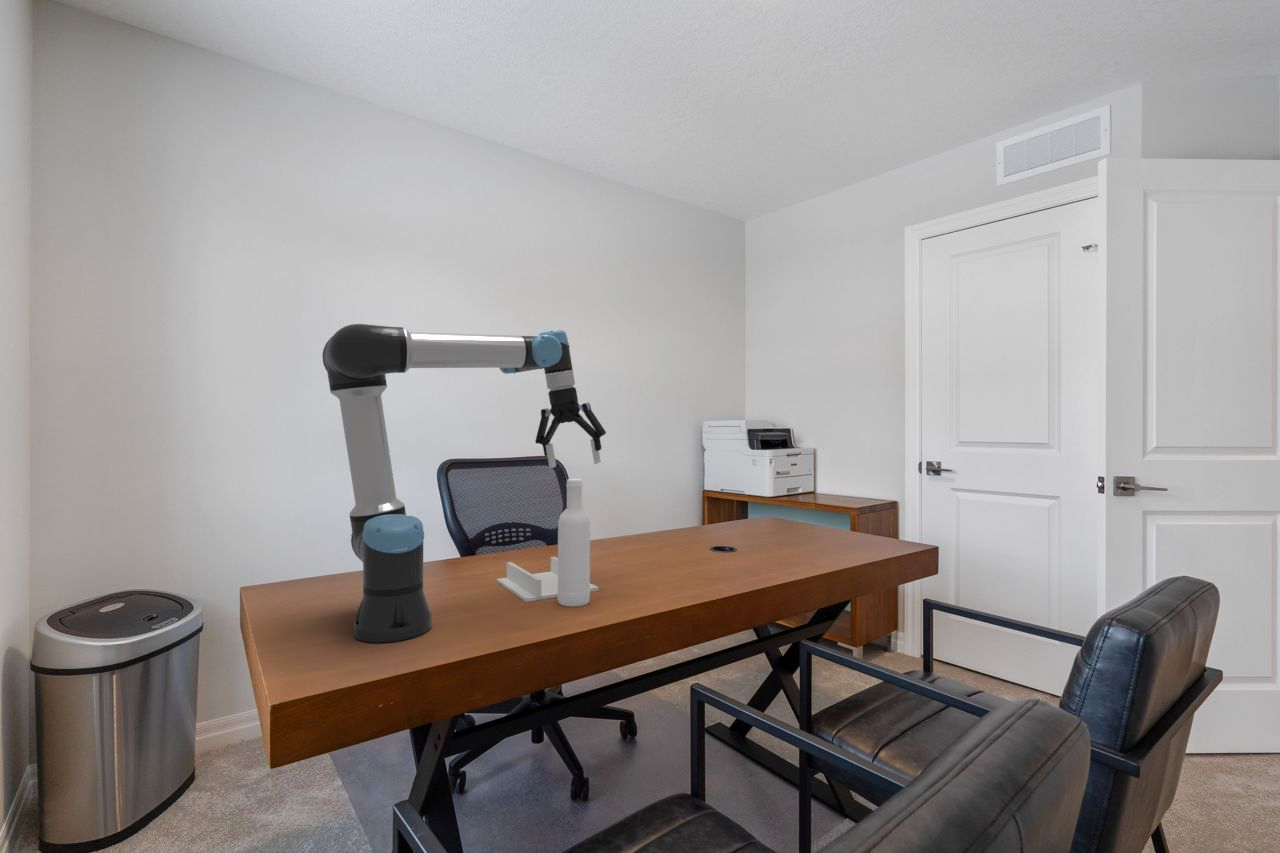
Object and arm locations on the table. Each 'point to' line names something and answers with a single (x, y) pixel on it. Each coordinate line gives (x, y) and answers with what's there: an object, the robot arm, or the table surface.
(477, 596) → the table surface
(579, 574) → the bottle
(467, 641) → the table surface
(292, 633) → the table surface
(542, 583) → the u rest
